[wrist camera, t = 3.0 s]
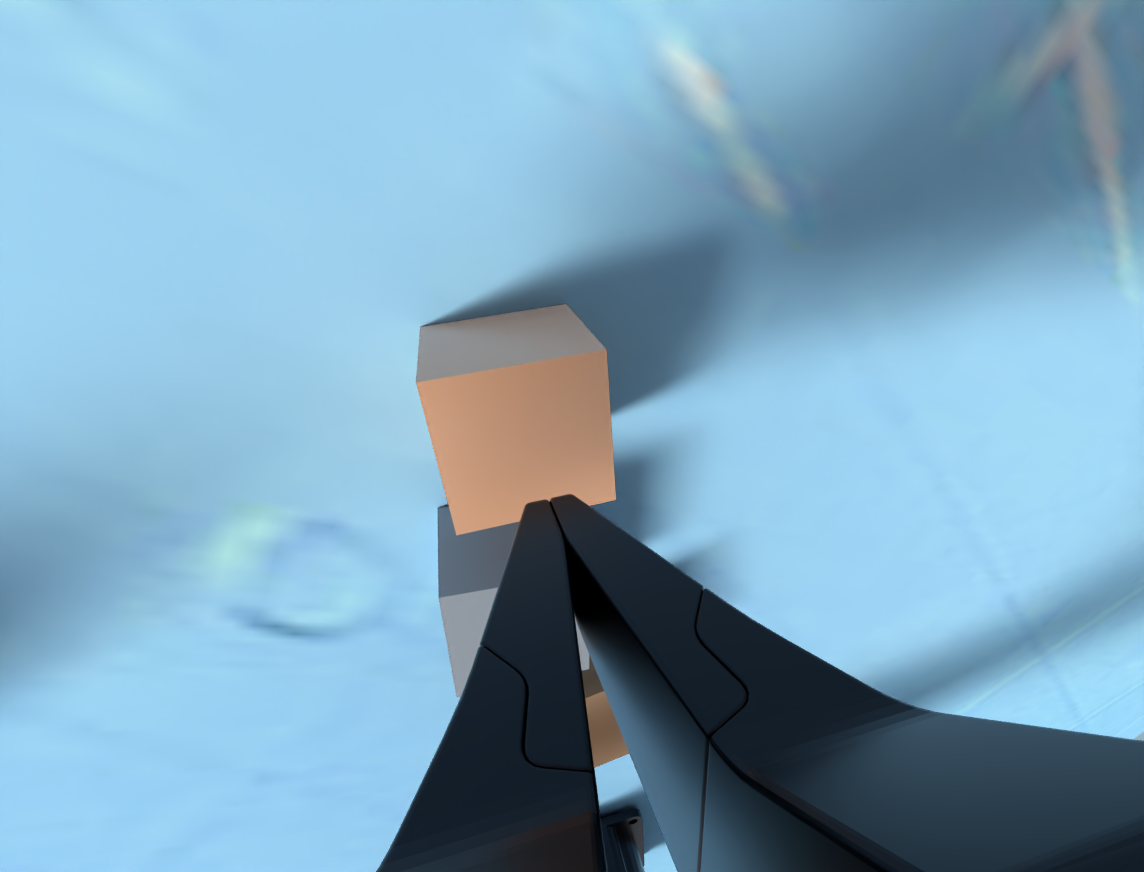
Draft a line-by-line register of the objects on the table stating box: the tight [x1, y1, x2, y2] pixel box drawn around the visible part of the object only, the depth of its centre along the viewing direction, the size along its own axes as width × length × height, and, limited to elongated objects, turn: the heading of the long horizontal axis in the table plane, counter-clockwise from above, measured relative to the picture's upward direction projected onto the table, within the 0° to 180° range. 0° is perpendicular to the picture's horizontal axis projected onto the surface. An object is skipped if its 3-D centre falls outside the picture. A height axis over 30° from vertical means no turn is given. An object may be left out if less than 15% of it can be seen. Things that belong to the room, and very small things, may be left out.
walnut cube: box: [582, 655, 629, 768], centre depth 19 cm, size 4×4×4 cm
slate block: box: [438, 506, 589, 697], centre depth 16 cm, size 4×4×4 cm
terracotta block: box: [416, 304, 616, 535], centre depth 13 cm, size 4×4×4 cm
